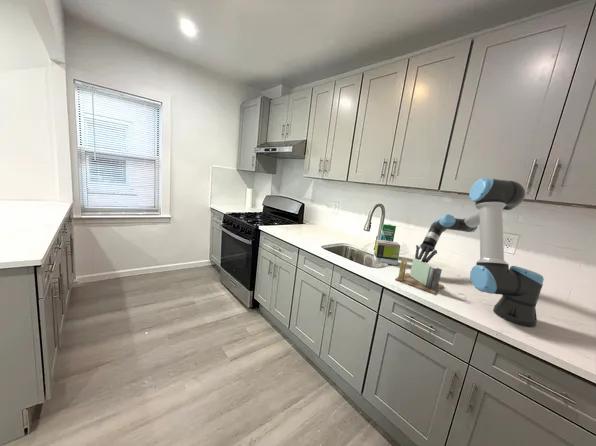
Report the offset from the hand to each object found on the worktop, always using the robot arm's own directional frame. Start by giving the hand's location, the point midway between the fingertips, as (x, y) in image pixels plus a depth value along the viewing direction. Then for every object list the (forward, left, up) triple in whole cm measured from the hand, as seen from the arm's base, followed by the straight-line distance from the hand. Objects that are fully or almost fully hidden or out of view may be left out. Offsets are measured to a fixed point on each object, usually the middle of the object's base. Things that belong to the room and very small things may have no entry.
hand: (416, 269), depth 152 cm
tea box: (+24, +13, -5) cm, 27 cm away
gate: (-11, +1, -3) cm, 12 cm away
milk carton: (+42, +10, -5) cm, 43 cm away
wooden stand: (-11, +1, -5) cm, 12 cm away
